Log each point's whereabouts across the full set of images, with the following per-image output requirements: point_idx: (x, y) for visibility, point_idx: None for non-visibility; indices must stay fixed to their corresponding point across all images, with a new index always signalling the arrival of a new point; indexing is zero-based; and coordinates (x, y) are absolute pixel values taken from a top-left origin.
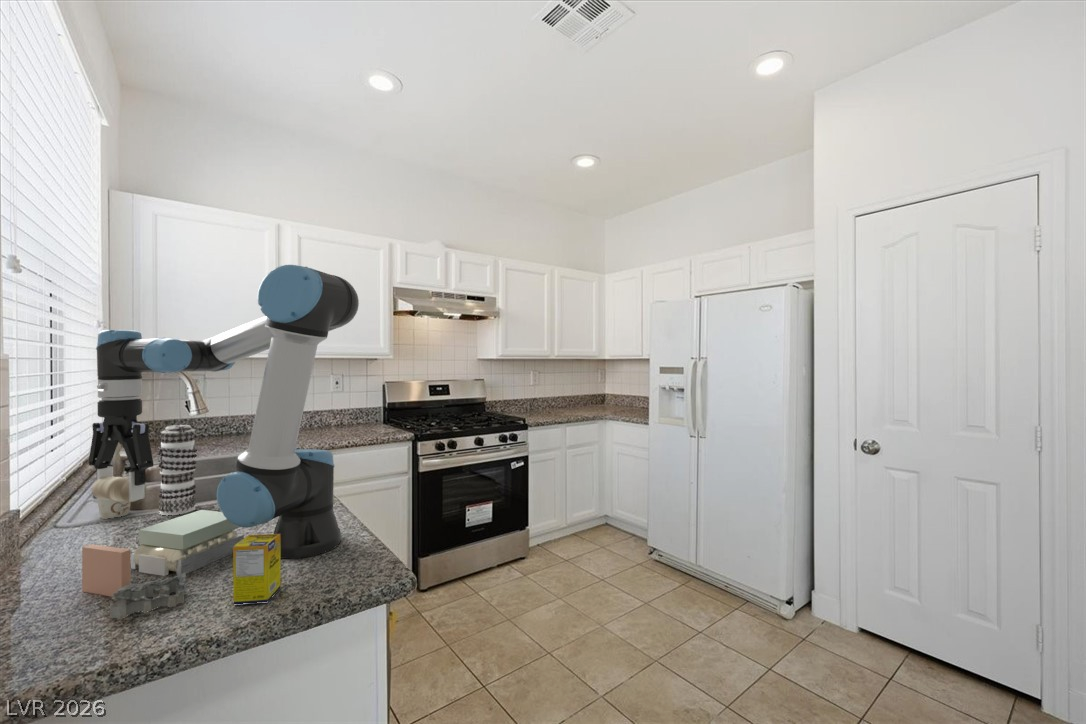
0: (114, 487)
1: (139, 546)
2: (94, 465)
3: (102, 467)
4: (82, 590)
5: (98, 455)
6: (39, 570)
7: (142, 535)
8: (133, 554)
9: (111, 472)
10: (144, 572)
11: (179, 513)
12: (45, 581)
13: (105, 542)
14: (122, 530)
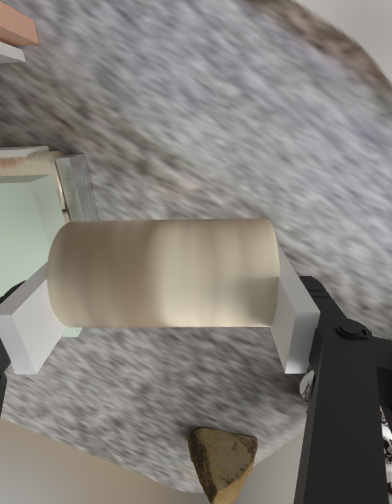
0: (113, 237)
1: (44, 168)
2: (366, 333)
3: (317, 343)
4: (31, 19)
5: (371, 418)
6: (279, 73)
7: (25, 179)
8: (61, 157)
9: (277, 341)
10: (30, 146)
11: (307, 375)
12: (187, 30)
13: (304, 238)
14: (338, 292)
